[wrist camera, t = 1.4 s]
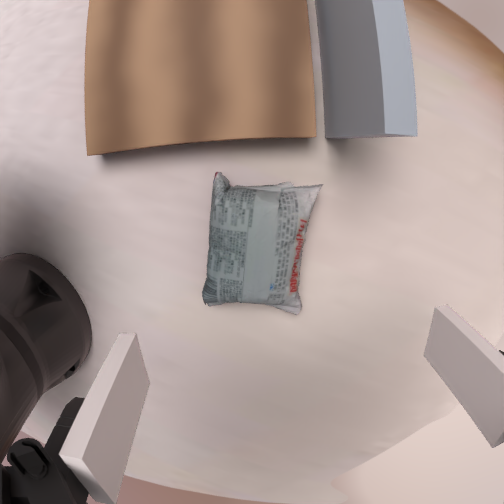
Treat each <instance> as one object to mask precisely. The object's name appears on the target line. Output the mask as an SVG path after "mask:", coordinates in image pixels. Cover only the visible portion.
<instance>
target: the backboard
mask: <svg viewBox="0 0 504 504" xmlns="http://www.w3.org/2000/svg"><path fill="white" fill-rule="evenodd" d="M315 5H316V14H317V23H318V33H319V44H320V56H321V69H322V83H323V100H324V120H325V138H346V139H348V138H367V137H400V136H417V109H416V93H415V81H414V70H413V61H412V53H411V45H410V38H409V31H408V25H407V19H406V14H405V8H404V3H403V0H315Z"/></svg>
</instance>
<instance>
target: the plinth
mask: <svg viewBox="0 0 504 504" xmlns="http://www.w3.org/2000/svg"><path fill="white" fill-rule="evenodd" d="M85 127H86V145H87V156H90V155H101V154H107V153H114V152H120V151H127V150H134V149H142V148H150V147H158V146H167V145H176V144H187V143H198V142H210V141H225V140H242V139H267V138H311V137H316V117H315V97H314V80H313V66H312V53H311V41H310V29H309V19H308V9H307V0H90V1H89V10H88V20H87V33H86V50H85Z"/></svg>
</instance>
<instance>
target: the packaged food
mask: <svg viewBox="0 0 504 504" xmlns="http://www.w3.org/2000/svg"><path fill="white" fill-rule="evenodd" d="M293 185H294V184H292V183H291V182H284V183H280V184H278V185H265V186H238V185H236V186H234V187H231V186H230V184H229V181H228V179H227V178H226V177H225V176H223V175H222V173H221V172H216V173H215V177H214V182H213V191H212V204H211V214H210V234H209V251H208V263H207V278H206V281H205V285H204V288H203V291H202V297H203V300H204V303H205V305H206V303H207V304H208V306H212V305H221V304H223V303H225V302H226V303H228V302H240V303H255V304H266V305H269V306H273V307H276V308H278V309H282V310H284V311H286V312H290V313H293V314H295V315H297V314H299V312H300V310H301V307H302V305H301V300H300V296H299V294H298V286H299V275H300V272H299V269H300V264H301V256H302V248H303V245H304V242H305V232H306V230H307V226H308V222H309V218H310V213H311V211H312V208H313V206H314V202H315V200H316V197H317V195H318V193H319V191H320V189H321V187H322V185H323V184H319V185H313V186H299V187H295V186H293Z"/></svg>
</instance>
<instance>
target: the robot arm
mask: <svg viewBox="0 0 504 504" xmlns="http://www.w3.org/2000/svg"><path fill="white" fill-rule="evenodd" d="M90 345H91V327H90V322H89V318H88V315H87V312H86V309H85V307H84V305H83V303H82V301H81V299H80V297H79V295H78V294H77V292H76V291H75V289H74V288H73V286H72V285H71V284H70V282H69V281H68V280H67V279H66V278H65V277H64V276H63V275H62V274H61V273H60V272H59V271H58V270H57V269H56V268H55V267H53V266H52V265H51V264H49V263H48V262H46V261H44V260H43V259H41V258H38V257H36V256H33V255H30V254H24V253H17V254H12V255H9V256H7V257H5V258H3V259H2V260H0V504H87V502H86V500H87V497H88V494H90V496H91V497H92V498H93V499H94V500H95V501H97V502H101V503H106V504H117V499H118V495H119V491H120V487H121V483H122V480H123V476H124V472H125V468H126V465H127V461H128V457H129V453H130V450H131V446H132V443H133V439H134V436H135V432H136V429H137V425H138V422H139V418H140V415H141V411H142V408H143V405H144V401H145V398H146V395H147V392H148V388H149V385H150V381H149V378H148V375H147V371H146V368H145V364H144V361H143V357H142V353H141V350H140V346H139V342H138V338H137V334H136V333H119V335H118V337H117V339H116V341H115V342H114V344H113V346H112V348H111V350H110V352H109V353H108V355H107V357H106V359H105V361H104V363H103V365H102V367H101V369H100V370H99V372H98V374H97V376H96V378H95V380H94V382H93V384H92V386H91V388H90V390H89V392H88V394H87V396H86V398H78V397H75V398H74V399H73V400H71V401H70V402H69V403H68V404H67V405H66V406H65V408H64V410H63V412H62V414H61V415H60V416H61V417H60V418H59V419H58V421H57V423H56V426H55V427H54V429H53V431H52V433H51V435H50V437H49V439H48V441H47V443H46V445H45V447H44V448H43V447H42V445H41V444H40V442H38V441H37V440H35V439H31V438H25V439H21V440H18V441H17V442H15V443H14V444H13V445H12V443H13V441H14V440H15V438H16V436H17V435H18V433H19V431H20V430H21V428H22V426H23V425H24V423H25V421H26V420H27V418H28V416H29V415H30V413H31V411H32V410H33V408H34V407H35V405H36V403H37V402H38V400H39V399H40V397H41V396H42V394H43V393H45V392H46V391H48V390H49V389H51V388H53V387H54V386H56V385H57V384H59V383H60V382H62V381H64V380H65V379H67V378H68V377H70V376H71V375H73V374H74V373H75V372H76V371H77V370H78V369H79V367H80V366H81V364H82V363H83V361H84V359H85V358H86V356H87V354H88V352H89V349H90ZM424 357H425V358H426V359H427V360H428V362H429V363H430V364H431V365H432V367H433V368H434V369H435V371H436V372H437V373H438V374H439V376H440V377H441V378H442V380H443V381H444V382H445V384H446V385H447V386H448V387H449V389H450V390H451V391H452V393H453V394H454V395H455V397H456V398H457V399H458V401H459V402H460V403H461V405H462V406H463V407H464V409H465V410H466V411H467V413H468V414H469V416H470V417H471V418H472V420H473V421H474V422H475V424H476V425H477V427H478V428H479V430H480V431H481V432H482V434H483V435H484V437H485V438H486V440H487V441H488V442H489V444H490V445H491V447H492V448H494V447H496V446H498V445H500V444H501V443H503V442H504V352H502V351H501V350H499V351H498V350H497V349H496V348H495V347H494V346H493V345H492V344H491V343H490V342H489V341H488V340H487V339H486V338H484V337H483V336H482V335H481V334H480V333H479V332H478V331H477V330H476V329H475V328H473V327H472V326H471V325H470V324H469V323H468V322H467V321H466V320H465V319H463V318H462V317H461V316H460V315H459V314H458V313H457V312H455V311H454V310H453V309H452V308H451V307H450V306H449V305H442V306H437V307H435V309H434V314H433V319H432V323H431V328H430V332H429V336H428V340H427V344H426V348H425V352H424ZM11 445H12V446H11ZM7 452H8V453H7ZM6 454H7V460H8V462H9V463H10V464H11V465H12V466H10V467H9V466H3V465H2V464H1V463H2V461H3V459H4V458H5V456H6Z"/></svg>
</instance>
